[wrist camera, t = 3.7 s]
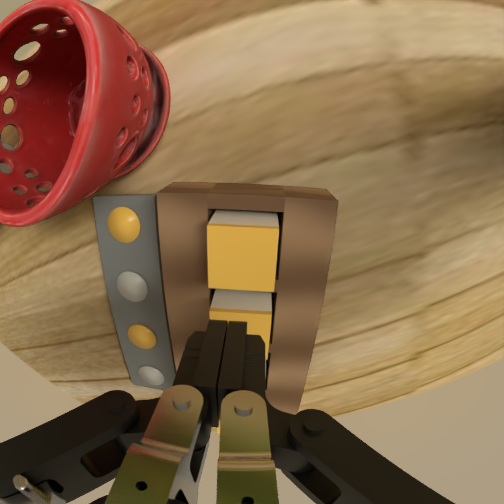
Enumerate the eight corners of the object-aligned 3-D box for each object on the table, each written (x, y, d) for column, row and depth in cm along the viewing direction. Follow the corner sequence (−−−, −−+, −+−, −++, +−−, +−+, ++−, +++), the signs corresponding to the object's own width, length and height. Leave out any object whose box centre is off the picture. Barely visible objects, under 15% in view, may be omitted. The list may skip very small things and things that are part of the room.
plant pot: (166, 15, 17) (95, -51, 6) (196, 162, 22) (131, 196, 11) (44, 74, 18) (-51, 71, 7) (68, 199, 23) (-23, 250, 12)
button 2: (217, 282, 23) (209, 310, 20) (271, 285, 23) (271, 314, 20) (218, 324, 25) (211, 355, 21) (267, 327, 25) (267, 359, 21)
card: (96, 194, 23) (91, 197, 22) (156, 194, 23) (153, 196, 22) (134, 381, 32) (132, 385, 32) (179, 388, 32) (178, 393, 31)
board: (173, 182, 23) (156, 192, 19) (326, 189, 22) (338, 201, 19) (192, 395, 32) (186, 420, 29) (291, 401, 32) (293, 428, 28)
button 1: (217, 207, 21) (207, 225, 17) (276, 210, 21) (279, 229, 17) (217, 261, 23) (208, 288, 19) (272, 264, 22) (273, 291, 19)
